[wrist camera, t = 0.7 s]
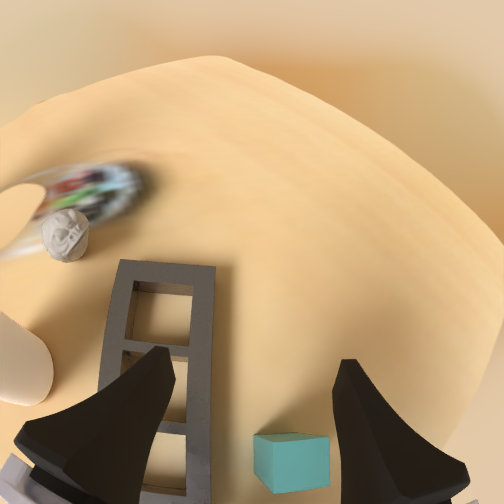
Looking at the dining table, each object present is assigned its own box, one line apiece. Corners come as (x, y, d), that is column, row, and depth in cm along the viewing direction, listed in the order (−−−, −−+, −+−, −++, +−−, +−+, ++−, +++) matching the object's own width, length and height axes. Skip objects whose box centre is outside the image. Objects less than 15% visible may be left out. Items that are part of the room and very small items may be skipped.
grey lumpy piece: (83, 285, 27) (59, 251, 21) (45, 261, 27) (20, 226, 22) (111, 244, 30) (95, 204, 25) (72, 225, 31) (54, 186, 25)
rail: (210, 510, 17) (211, 518, 15) (105, 494, 15) (97, 500, 13) (214, 278, 30) (215, 266, 28) (125, 270, 29) (120, 259, 27)
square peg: (296, 469, 20) (329, 485, 14) (254, 472, 20) (273, 494, 13) (295, 432, 22) (329, 436, 16) (253, 435, 22) (272, 442, 15)
